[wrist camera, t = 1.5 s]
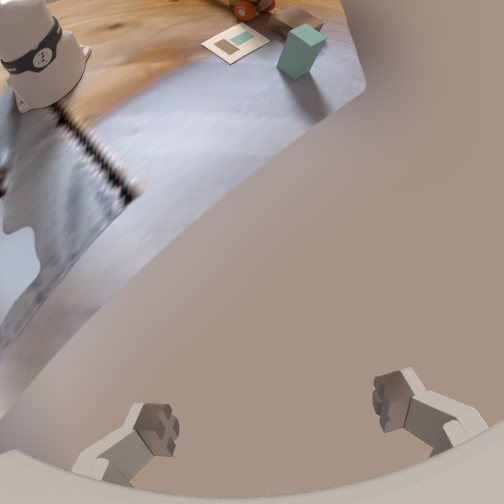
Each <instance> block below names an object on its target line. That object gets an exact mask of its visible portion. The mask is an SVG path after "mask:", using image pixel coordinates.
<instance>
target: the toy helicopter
mask: <svg viewBox="0 0 504 504" xmlns="http://www.w3.org/2000/svg"><path fill="white" fill-rule="evenodd" d="M229 3H230V4H231V5H232V6H234V13H235V15H236V16H237V17H238V18H239V19H240V20H242V21H249V20H251V19H253V18H254V17H255V15H256V12H259V11H263V12H267V11H270V10H272V9H273V8H274V7H275V1H274V0H229Z"/></svg>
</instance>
